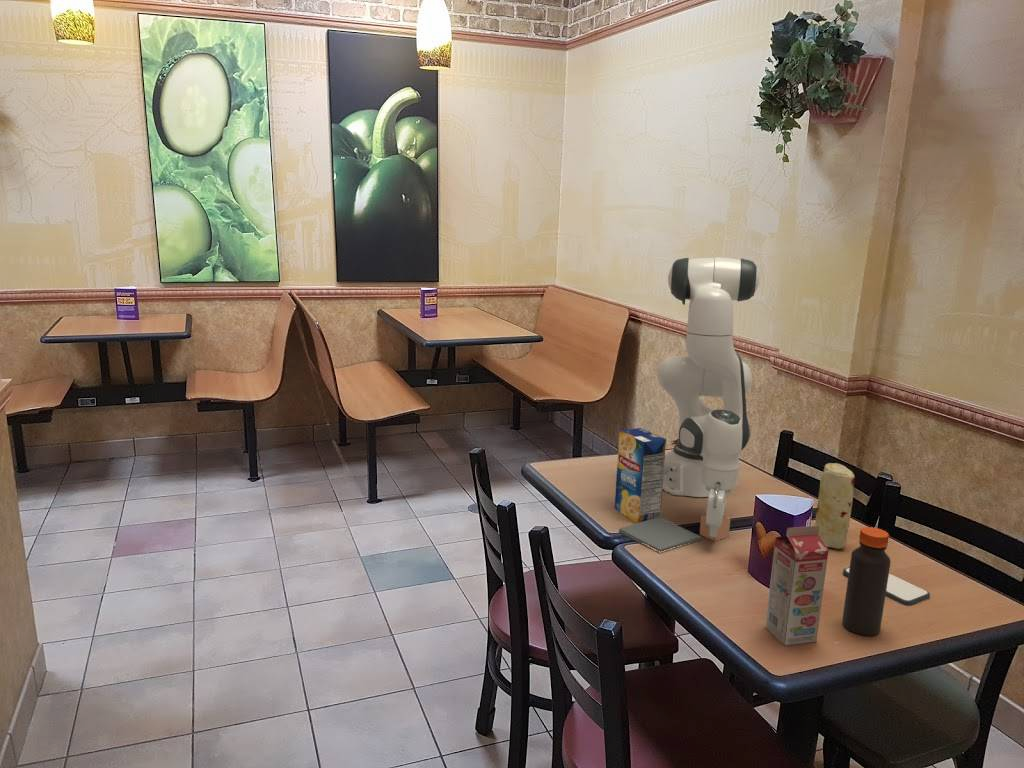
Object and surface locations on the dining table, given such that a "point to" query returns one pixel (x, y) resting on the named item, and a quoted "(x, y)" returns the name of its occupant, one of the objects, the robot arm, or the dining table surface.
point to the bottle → (867, 583)
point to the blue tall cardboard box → (639, 474)
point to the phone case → (901, 590)
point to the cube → (722, 530)
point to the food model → (835, 504)
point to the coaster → (659, 534)
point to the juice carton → (797, 585)
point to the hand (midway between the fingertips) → (714, 529)
